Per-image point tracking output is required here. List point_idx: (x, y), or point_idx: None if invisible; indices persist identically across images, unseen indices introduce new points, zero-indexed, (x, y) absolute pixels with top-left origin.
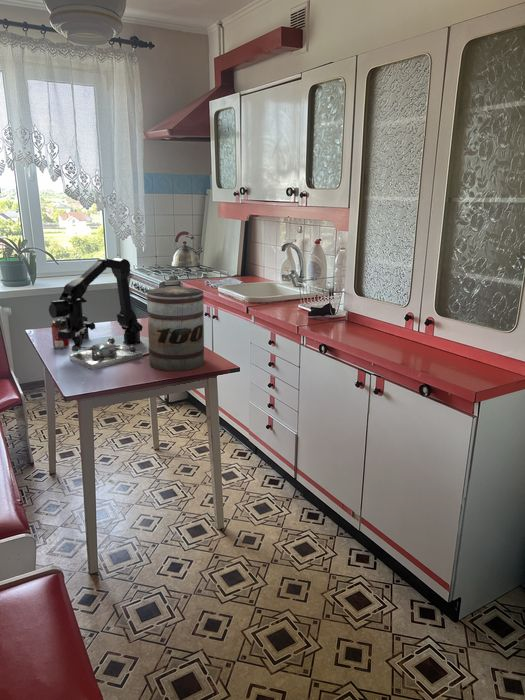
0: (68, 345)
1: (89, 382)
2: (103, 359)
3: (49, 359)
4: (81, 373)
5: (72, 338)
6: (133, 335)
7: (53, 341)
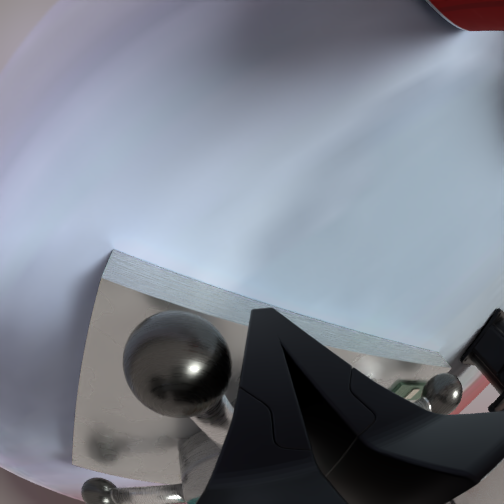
0: (462, 28)
1: (8, 455)
2: (168, 473)
3: (30, 55)
4: (17, 426)
5: (220, 486)
6: (491, 382)
7: None
